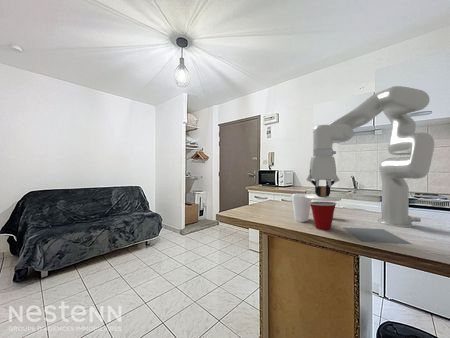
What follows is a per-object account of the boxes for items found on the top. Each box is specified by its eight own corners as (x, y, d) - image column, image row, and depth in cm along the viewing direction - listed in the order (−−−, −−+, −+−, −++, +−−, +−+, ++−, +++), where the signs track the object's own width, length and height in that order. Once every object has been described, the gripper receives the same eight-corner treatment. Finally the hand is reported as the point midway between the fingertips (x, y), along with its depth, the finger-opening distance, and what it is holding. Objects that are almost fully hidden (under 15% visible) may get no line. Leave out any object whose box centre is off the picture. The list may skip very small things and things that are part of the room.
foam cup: (314, 223, 94) (314, 196, 94) (295, 222, 95) (295, 196, 94) (306, 217, 104) (307, 193, 104) (289, 217, 104) (289, 193, 104)
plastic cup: (322, 224, 92) (322, 199, 92) (342, 231, 82) (342, 203, 82) (303, 226, 89) (303, 200, 89) (322, 234, 79) (322, 205, 78)
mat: (383, 230, 83) (383, 229, 83) (412, 245, 67) (412, 243, 67) (342, 228, 86) (342, 227, 86) (361, 242, 70) (361, 241, 70)
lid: (333, 196, 91) (333, 184, 91) (347, 201, 77) (347, 188, 77) (302, 195, 93) (302, 184, 93) (310, 200, 79) (310, 187, 79)
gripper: (339, 154, 87) (339, 194, 88) (301, 154, 90) (301, 194, 90) (346, 153, 80) (346, 197, 80) (305, 153, 83) (304, 196, 83)
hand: (322, 195), depth 85 cm, fingers closed on lid, 3 cm apart
